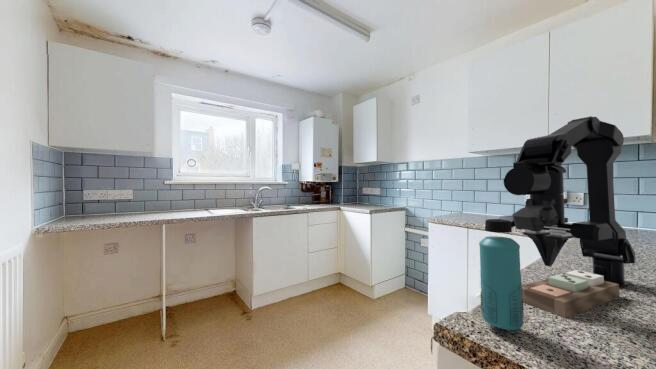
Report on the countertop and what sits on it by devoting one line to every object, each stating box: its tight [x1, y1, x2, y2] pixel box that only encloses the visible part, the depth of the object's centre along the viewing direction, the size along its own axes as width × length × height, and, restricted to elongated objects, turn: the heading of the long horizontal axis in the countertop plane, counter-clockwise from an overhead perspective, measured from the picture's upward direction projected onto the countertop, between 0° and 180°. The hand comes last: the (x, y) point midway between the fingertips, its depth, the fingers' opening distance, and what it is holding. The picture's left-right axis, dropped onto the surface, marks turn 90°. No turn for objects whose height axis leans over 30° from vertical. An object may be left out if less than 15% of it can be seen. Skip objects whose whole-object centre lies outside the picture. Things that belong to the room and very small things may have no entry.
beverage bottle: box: [478, 218, 525, 331], centre depth 48 cm, size 6×7×20 cm
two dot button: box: [565, 269, 604, 287], centre depth 63 cm, size 5×5×3 cm
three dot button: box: [547, 273, 588, 292], centre depth 60 cm, size 5×5×3 cm
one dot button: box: [530, 284, 570, 298], centre depth 57 cm, size 5×5×3 cm
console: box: [521, 274, 620, 319], centre depth 60 cm, size 22×9×3 cm, turn 113°
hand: (548, 265), depth 57 cm, fingers closed
